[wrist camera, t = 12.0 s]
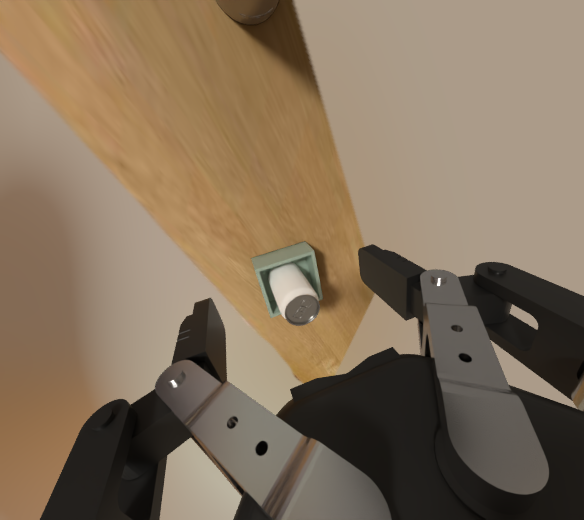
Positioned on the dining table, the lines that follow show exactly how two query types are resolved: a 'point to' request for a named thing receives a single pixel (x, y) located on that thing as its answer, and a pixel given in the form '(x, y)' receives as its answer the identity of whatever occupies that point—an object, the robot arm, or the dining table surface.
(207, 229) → the dining table surface
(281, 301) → the can
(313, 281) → the bin
